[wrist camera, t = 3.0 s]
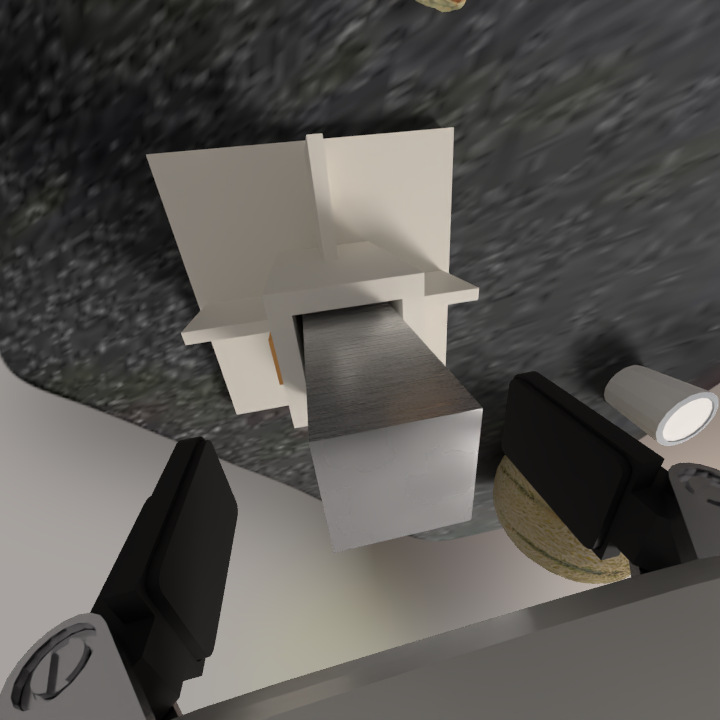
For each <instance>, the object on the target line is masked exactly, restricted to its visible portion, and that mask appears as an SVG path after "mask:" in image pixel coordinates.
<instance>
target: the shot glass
mask: <svg viewBox="0 0 720 720" xmlns="http://www.w3.org/2000/svg"><path fill="white" fill-rule="evenodd" d="M604 398H605V401H606V402H608V403H609V404H610V405H611V406H613V407H614V408H615V409H616V410H618V411H619V412H620V413H622V414H623V415H624V416H625V417H627V418H628V419H629V420H630V421H632V422H633V423H634V424H636V425H637V426H638V427H639V428H641V429H642V430H643V431H644V432H646V433H647V434H648V435H649V436H651V437H652V438H653V439H655V440H656V441H657V442H659V443H660V444H661V445H664V446H673V445H676V444H679V443H683V442H685V441H687V440H688V439H690V438H692V437H693V436H695V435H696V434H698V433H699V432H700V431H701V430H702V429H703V428H705V427H706V426H707V424H708V423H709V422H710V421H711V419H712V418H713V417H714V415H715V413H716V410H717V408H718V406H719V404H718V397H717V396H716V395H715V394H714V393H713V392H710V391H707V390H705V389H702V388H699V387H697V386H694V385H691V384H689V383H686V382H683V381H681V380H678V379H675V378H673V377H670V376H667V375H665V374H662V373H659V372H657V371H654V370H651V369H649V368H646V367H643V366H639V365H632V366H629V367H626V368H624V369H622V370H621V371H619V372H618V373H616V374H615V375H614V376H613V377H612V378H611V379H610V381H609V382H608V384H607V386H606V387H605V391H604Z"/></svg>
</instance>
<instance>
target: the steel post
mask: <svg viewBox="0 0 720 720" xmlns="http://www.w3.org/2000/svg"><path fill="white" fill-rule="evenodd" d="M303 333H304V354H305V374H306V394H307V414H308V435H309V445H310V450H311V454H312V458H313V463H314V467H315V471H316V476H317V480H318V485H319V489H320V493H321V498H322V502H323V507H324V511H325V515H326V520H327V523H328V528H329V533H330V537H331V541H332V546H333V550H334V553H335V552H339V551H343V550H347V549H352V548H356V547H360V546H364V545H369V544H373V543H377V542H381V541H385V540H390V539H394V538H398V537H402V536H406V535H410V534H415V533H419V532H423V531H427V530H431V529H436V528H440V527H444V526H448V525H452V524H456V523H461V522H465V521H469V520H471V515H472V506H473V497H474V487H475V478H476V469H477V459H478V450H479V441H480V431H481V422H482V412H483V408H482V407H481V405H480V404H479V403H478V402H477V401H476V400H475V399H474V398H473V397H472V395H471V394H470V393H469V392H468V391H467V390H466V389H465V388H464V386H463V385H462V384H461V383H460V382H459V381H458V380H457V379H456V378H455V376H454V375H453V374H452V373H451V372H450V371H449V370H448V369H447V368H446V366H445V365H444V364H443V363H442V362H441V361H440V360H439V359H438V358H437V356H436V355H435V354H434V353H433V352H432V351H431V350H430V349H429V348H428V346H427V345H426V344H425V343H424V342H423V341H422V340H421V339H420V338H419V336H418V335H417V334H416V333H415V332H414V331H413V330H412V329H411V327H410V326H409V325H408V324H407V323H406V322H405V321H404V320H403V319H402V317H401V316H400V315H399V314H398V313H397V312H396V311H395V310H394V309H393V307H392V306H391V305H390V304H389V303H388V302H387V301H386V302H379V303H372V304H366V305H359V306H352V307H346V308H339V309H332V310H326V311H319V312H313V313H306V314H303Z"/></svg>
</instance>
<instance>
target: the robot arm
mask: <svg viewBox="0 0 720 720" xmlns="http://www.w3.org/2000/svg"><path fill="white" fill-rule="evenodd" d="M501 446H502V450H503V452H504V454H505V455H506V456H507V457H508V458H509V460H510V461H511V462H512V463H513V464H514V466H515V467H516V468H517V469H518V470H519V471H520V473H521V474H522V475H523V476H524V477H525V478H526V480H527V481H528V482H529V483H530V484H531V485H532V487H533V488H534V489H535V490H536V491H537V492H538V494H539V495H540V496H541V497H542V498H543V499H544V501H545V502H546V503H547V504H548V505H549V507H550V508H551V509H552V510H553V511H554V512H555V514H556V515H557V516H558V517H559V518H560V519H561V521H562V522H563V523H564V524H565V525H566V526H567V528H568V529H569V530H570V531H571V532H572V533H573V535H574V536H575V537H576V538H577V539H578V540H579V542H580V543H581V544H582V545H583V546H584V547H586V548H587V549H591V550H592V551H593V552H594V553H595V554H596V556H597V557H598V558H599V559H600V560H601V561H602V560H605V559H609V558H612V557H616V556H619V555H620V552H621V553H622V554H623V555H624V556H625V557H626V558H627V559H628V560H629V566H630V572H631V578H627V579H624V580H621V581H617V582H614V583H610V584H607V585H604V586H600V587H597V588H593V589H590V590H586V591H583V592H580V593H576V594H573V595H570V596H566V597H563V598H559V599H556V600H553V601H549V602H546V603H542V604H539V605H535V606H532V607H529V608H525V609H522V610H519V611H515V612H512V613H508V614H506V615H502V616H498V617H495V618H492V619H489V620H485V621H482V622H478V623H475V624H472V625H468V626H465V627H462V628H459V629H455V630H452V631H449V632H445V633H442V634H438V635H435V636H432V637H428V638H425V639H422V640H418V641H415V642H412V643H409V644H405V645H402V646H399V647H395V648H392V649H389V650H386V651H382V652H379V653H376V654H372V655H369V656H366V657H362V658H359V659H356V660H353V661H349V662H346V663H343V664H340V665H336V666H333V667H330V668H326V669H323V670H320V671H316V672H313V673H310V674H307V675H304V676H300V677H297V678H294V679H290V680H287V681H284V682H281V683H278V684H275V685H271V686H268V687H266V688H262V689H259V690H256V691H253V692H250V693H247V694H244V695H241V696H238V697H235V698H232V699H229V700H226V701H222V702H219V703H216V704H213V705H210V706H207V707H204V708H201V709H198V710H196V711H193V712H190V713H188V714H185V715H183V714H182V713H181V710H180V708H179V706H178V704H177V702H176V701H177V700H178V698H179V697H180V692H181V688H182V684H183V681H185V680H188V679H192V678H195V677H199V676H202V673H203V667H204V663H205V658H206V657H209V656H211V654H212V652H213V650H214V645H215V640H216V634H217V629H218V623H219V618H220V612H221V606H222V601H223V595H224V589H225V584H226V578H227V572H228V567H229V561H230V555H231V550H232V544H233V538H234V533H235V527H236V521H237V515H238V508H237V503H236V500H235V498H234V495H233V493H232V491H231V488H230V486H229V483H228V481H227V479H226V476H225V474H224V471H223V469H222V466H221V464H220V461H219V459H218V457H217V454H216V452H215V449H214V447H213V445H212V443H211V441H210V440H206V441H205V440H204V438H203V437H195V438H190V439H185V440H180V441H178V443H177V444H176V446H175V449H174V450H173V453H172V454H171V456H170V459H169V461H168V463H167V465H166V467H165V469H164V471H163V473H162V475H161V477H160V479H159V481H158V483H157V485H156V487H155V489H154V492H153V494H152V496H150V497H149V498H148V499H147V501H146V502H145V504H144V505H143V508H142V510H141V512H140V514H139V516H138V518H137V520H136V522H135V524H134V526H133V528H132V530H131V532H130V534H129V536H128V538H127V540H126V542H125V544H124V546H123V548H122V550H121V552H120V554H119V556H118V558H117V560H116V562H115V564H114V566H113V568H112V570H111V572H110V574H109V576H108V578H107V580H106V582H105V584H104V586H103V588H102V590H101V592H100V595H99V596H98V598H97V600H96V602H95V604H94V606H93V608H92V610H91V612H90V613H87V614H80V615H77V616H75V617H73V618H70V619H68V620H66V621H64V622H62V623H61V624H59V625H58V626H56V627H55V628H54V629H52V630H50V631H49V632H47V633H46V634H45V635H44V636H43V637H42V638H41V639H40V640H38V641H37V642H36V643H35V644H34V645H33V646H32V647H31V648H30V649H29V650H28V651H27V653H26V654H25V655H24V656H23V657H22V658H21V660H20V661H19V662H18V663H17V665H16V666H15V668H14V669H13V671H12V672H11V674H10V676H9V677H8V678H7V680H6V682H5V685H4V687H3V689H2V692H1V694H0V720H720V471H719V470H717V469H714V468H711V467H708V466H704V465H701V464H694V463H678V464H675V465H673V466H671V468H670V469H669V471H667V470H665V469H664V468H663V467H661V465H662V463H663V461H664V458H663V457H661V456H660V455H658V454H657V453H655V452H654V451H652V450H651V449H650V448H648V447H646V446H645V445H644V444H642V443H641V442H639V441H638V440H636V439H635V438H633V437H632V436H630V435H629V434H628V433H626V432H625V431H623V430H622V429H620V428H619V427H617V426H616V425H614V424H613V423H611V422H610V421H608V420H607V419H605V418H604V417H603V416H601V415H600V414H598V413H597V412H595V411H594V410H592V409H591V408H589V407H588V406H586V405H585V404H583V403H582V402H581V401H579V400H578V399H576V398H575V397H573V396H572V395H570V394H569V393H567V392H566V391H564V390H563V389H561V388H560V387H558V386H557V385H556V384H554V383H553V382H551V381H550V380H548V379H547V378H545V377H544V376H542V375H541V374H539V373H538V372H536V371H532V372H527V373H522V374H517V375H516V376H515V377H514V379H513V380H512V381H511V382H510V385H509V392H508V399H507V406H506V413H505V420H504V427H503V434H502V441H501Z"/></svg>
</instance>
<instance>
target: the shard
mask: <svg viewBox="0 0 720 720" xmlns="http://www.w3.org/2000/svg"><path fill="white" fill-rule="evenodd" d="M415 1H417V2H419V3H421V4H424V5H426V6H430V7H432V8H436V9H437V10H439V11H441V12H450V11H452V10H457V9H460V8H461V7H462V6H463V5H464V4H465V2H466V0H415Z"/></svg>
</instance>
